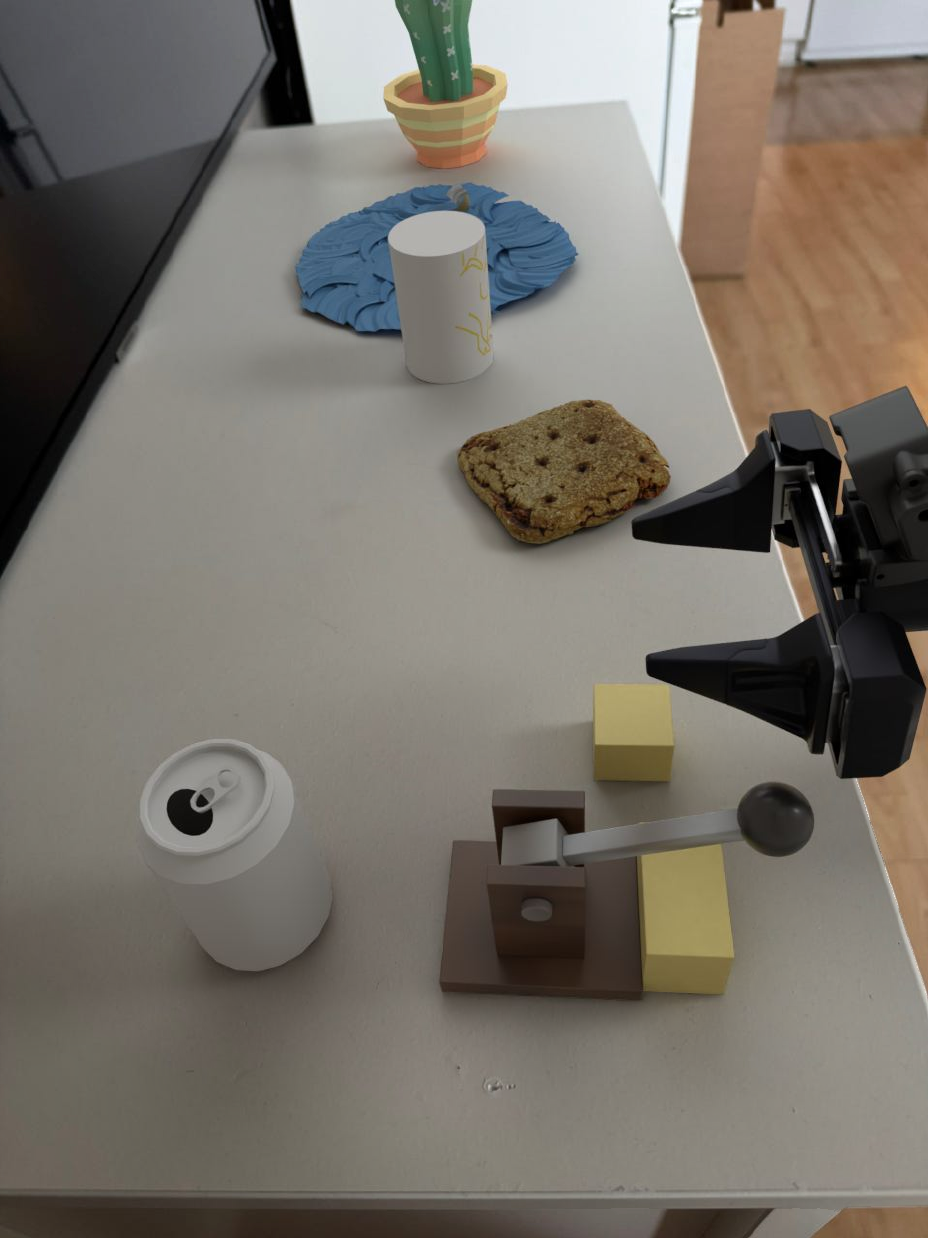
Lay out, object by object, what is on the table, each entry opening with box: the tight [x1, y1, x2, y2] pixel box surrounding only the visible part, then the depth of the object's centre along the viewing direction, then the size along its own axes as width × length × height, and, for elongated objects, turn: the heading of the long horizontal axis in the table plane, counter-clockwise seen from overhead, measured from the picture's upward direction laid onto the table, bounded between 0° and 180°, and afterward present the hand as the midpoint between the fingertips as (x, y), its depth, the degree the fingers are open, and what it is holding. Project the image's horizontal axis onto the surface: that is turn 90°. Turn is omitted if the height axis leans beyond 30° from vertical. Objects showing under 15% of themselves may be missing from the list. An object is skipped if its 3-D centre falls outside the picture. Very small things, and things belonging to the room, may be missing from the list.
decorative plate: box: [294, 182, 579, 332], centre depth 99 cm, size 30×30×5 cm
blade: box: [501, 781, 815, 867], centre depth 43 cm, size 14×3×3 cm, turn 85°
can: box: [135, 738, 333, 972], centre depth 48 cm, size 8×8×12 cm
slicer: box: [438, 788, 644, 1002], centre depth 47 cm, size 10×8×9 cm
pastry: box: [457, 399, 672, 545], centre depth 74 cm, size 17×17×3 cm
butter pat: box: [592, 683, 675, 782], centre depth 56 cm, size 4×4×4 cm
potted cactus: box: [382, 0, 509, 170], centre depth 111 cm, size 15×15×25 cm
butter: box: [637, 821, 735, 996], centre depth 48 cm, size 4×7×4 cm, turn 175°
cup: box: [388, 211, 495, 385], centre depth 84 cm, size 8×8×12 cm
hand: (638, 592), depth 45 cm, fingers open, 9 cm apart
